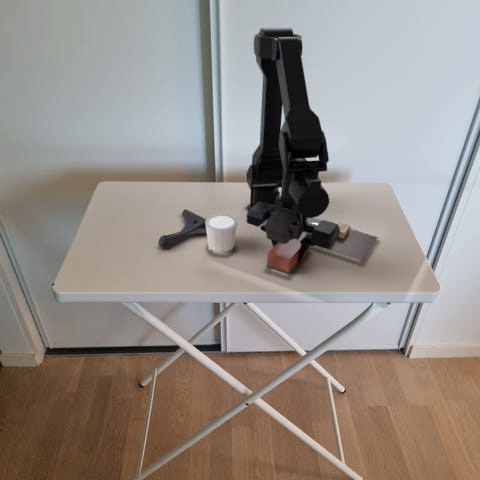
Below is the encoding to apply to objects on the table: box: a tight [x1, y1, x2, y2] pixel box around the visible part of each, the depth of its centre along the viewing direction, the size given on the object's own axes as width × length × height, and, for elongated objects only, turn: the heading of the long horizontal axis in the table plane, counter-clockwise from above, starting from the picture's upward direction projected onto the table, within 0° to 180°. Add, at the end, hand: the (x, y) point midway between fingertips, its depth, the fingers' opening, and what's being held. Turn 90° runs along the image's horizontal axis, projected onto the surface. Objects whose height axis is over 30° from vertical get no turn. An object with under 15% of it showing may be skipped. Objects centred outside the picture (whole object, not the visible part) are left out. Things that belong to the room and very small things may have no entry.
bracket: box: [157, 208, 207, 250], centre depth 106 cm, size 14×15×3 cm
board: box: [303, 217, 378, 261], centre depth 107 cm, size 20×11×1 cm, turn 60°
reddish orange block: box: [266, 233, 311, 275], centre depth 99 cm, size 5×11×5 cm, turn 150°
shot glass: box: [205, 213, 238, 253], centre depth 101 cm, size 7×7×7 cm
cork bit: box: [333, 220, 352, 239], centre depth 107 cm, size 4×4×2 cm
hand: (288, 258), depth 100 cm, fingers closed on reddish orange block, 5 cm apart
